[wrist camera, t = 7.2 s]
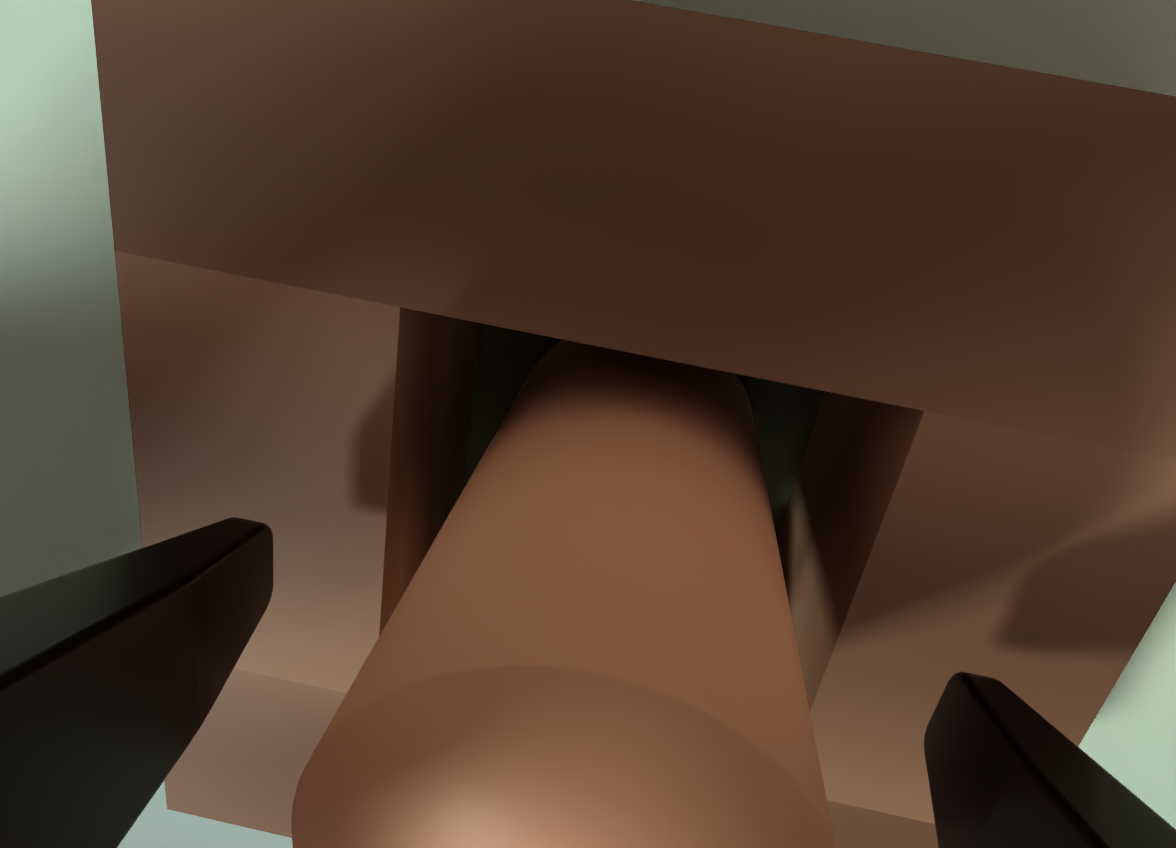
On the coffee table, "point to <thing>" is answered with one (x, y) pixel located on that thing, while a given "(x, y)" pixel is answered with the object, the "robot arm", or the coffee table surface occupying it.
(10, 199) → the coffee table surface
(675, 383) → the peg
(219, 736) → the hole block
